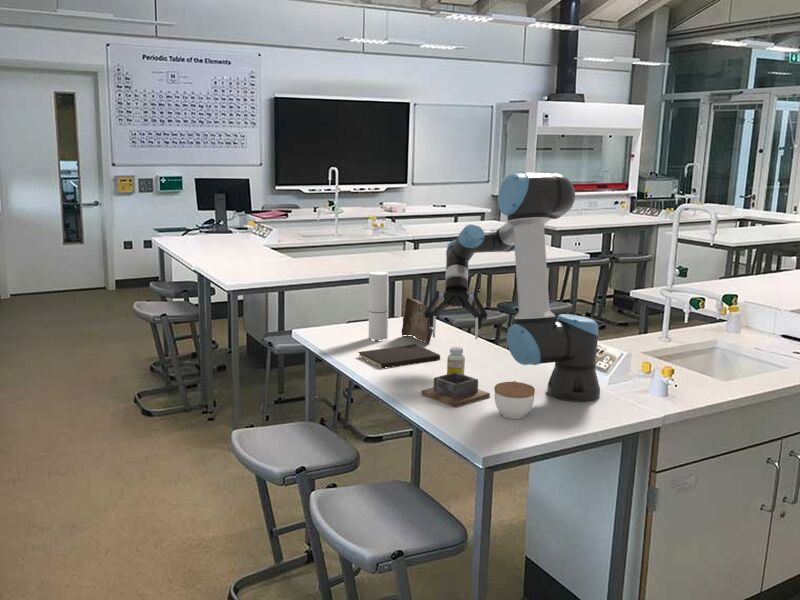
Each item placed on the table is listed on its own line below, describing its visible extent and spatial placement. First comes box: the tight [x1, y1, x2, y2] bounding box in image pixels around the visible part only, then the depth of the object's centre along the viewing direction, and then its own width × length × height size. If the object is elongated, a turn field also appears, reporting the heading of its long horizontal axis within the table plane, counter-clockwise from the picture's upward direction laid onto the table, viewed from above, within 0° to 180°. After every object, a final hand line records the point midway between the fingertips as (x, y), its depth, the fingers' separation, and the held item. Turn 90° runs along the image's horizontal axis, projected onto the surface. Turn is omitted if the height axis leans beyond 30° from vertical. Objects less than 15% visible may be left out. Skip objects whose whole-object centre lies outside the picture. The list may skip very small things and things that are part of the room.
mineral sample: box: [401, 297, 433, 346], centre depth 275 cm, size 17×4×15 cm, turn 33°
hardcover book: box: [358, 343, 441, 369], centre depth 252 cm, size 16×23×2 cm
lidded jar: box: [493, 380, 536, 420], centre depth 198 cm, size 11×11×9 cm
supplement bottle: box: [446, 346, 466, 375], centre depth 230 cm, size 5×5×10 cm
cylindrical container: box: [368, 271, 389, 340], centre depth 275 cm, size 7×7×25 cm
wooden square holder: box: [420, 372, 491, 408], centre depth 214 cm, size 14×14×5 cm
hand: (455, 336), depth 236 cm, fingers open, 13 cm apart
